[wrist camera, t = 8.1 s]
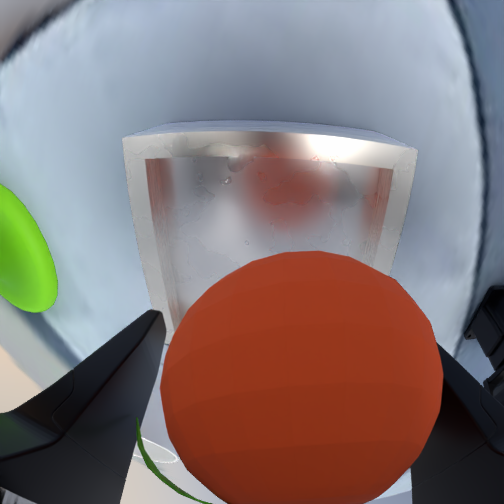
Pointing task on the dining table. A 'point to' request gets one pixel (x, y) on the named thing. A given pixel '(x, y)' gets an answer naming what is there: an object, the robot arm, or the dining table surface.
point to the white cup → (156, 426)
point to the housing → (259, 199)
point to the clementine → (300, 383)
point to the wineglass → (24, 258)
